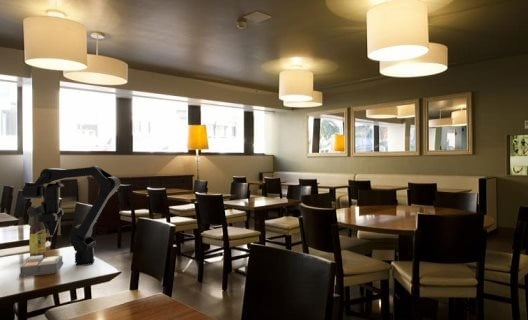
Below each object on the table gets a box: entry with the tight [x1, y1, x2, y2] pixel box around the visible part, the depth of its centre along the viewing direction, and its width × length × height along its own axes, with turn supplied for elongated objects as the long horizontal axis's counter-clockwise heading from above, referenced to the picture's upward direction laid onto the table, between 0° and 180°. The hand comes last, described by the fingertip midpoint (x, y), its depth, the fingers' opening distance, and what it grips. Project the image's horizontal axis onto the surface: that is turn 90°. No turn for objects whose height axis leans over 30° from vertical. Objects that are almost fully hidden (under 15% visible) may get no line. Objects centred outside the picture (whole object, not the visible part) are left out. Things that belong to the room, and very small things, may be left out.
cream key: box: [41, 258, 57, 265], centre depth 145 cm, size 4×4×2 cm
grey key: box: [27, 255, 44, 262], centre depth 148 cm, size 4×4×2 cm
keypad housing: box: [19, 255, 64, 278], centre depth 147 cm, size 12×12×4 cm
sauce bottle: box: [28, 213, 47, 258], centre depth 167 cm, size 7×6×20 cm
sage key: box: [46, 255, 61, 259], centre depth 150 cm, size 4×4×2 cm
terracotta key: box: [23, 262, 40, 267], centre depth 143 cm, size 4×4×2 cm
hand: (51, 235), depth 155 cm, fingers closed
